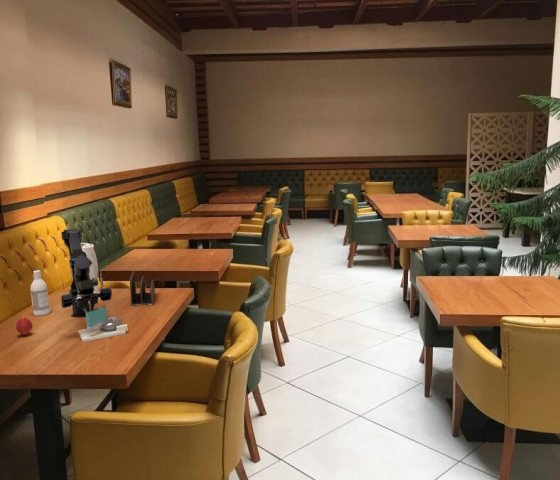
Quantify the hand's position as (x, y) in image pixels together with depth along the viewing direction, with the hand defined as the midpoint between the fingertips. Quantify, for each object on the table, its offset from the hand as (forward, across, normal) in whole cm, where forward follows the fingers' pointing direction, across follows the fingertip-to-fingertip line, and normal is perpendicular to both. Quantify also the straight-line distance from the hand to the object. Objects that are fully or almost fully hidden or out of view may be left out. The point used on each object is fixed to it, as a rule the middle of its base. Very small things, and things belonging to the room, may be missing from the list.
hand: (91, 315), depth 200 cm
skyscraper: (-39, +11, +52) cm, 66 cm away
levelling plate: (+5, +4, +8) cm, 10 cm away
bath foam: (-26, -14, +40) cm, 50 cm away
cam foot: (+4, +5, +6) cm, 8 cm away
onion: (-7, -23, +19) cm, 31 cm away
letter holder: (-22, +30, +35) cm, 51 cm away
